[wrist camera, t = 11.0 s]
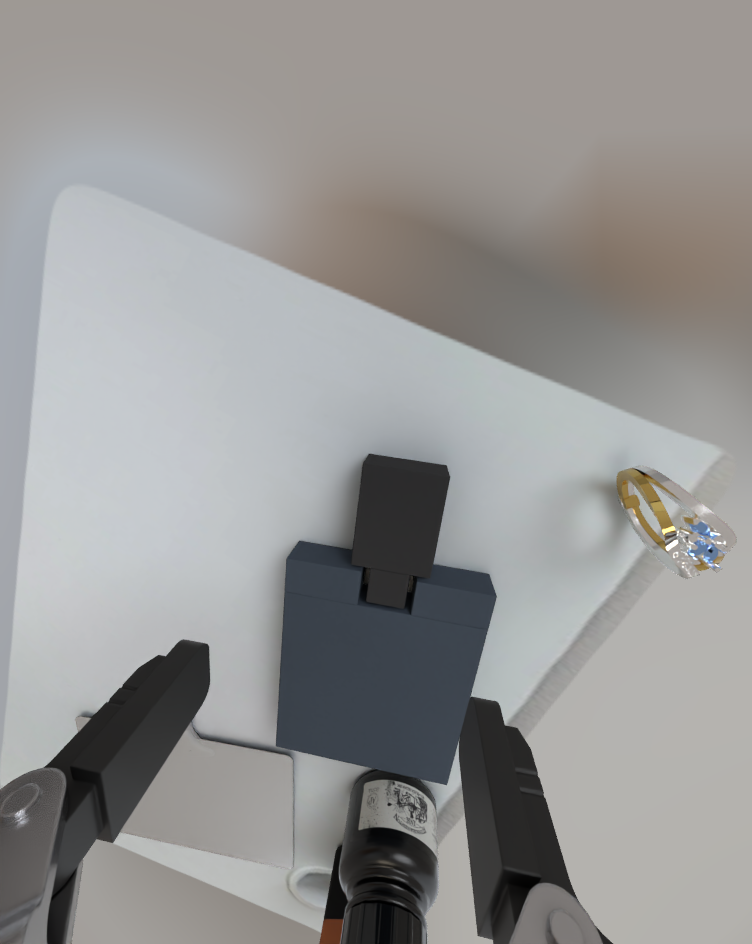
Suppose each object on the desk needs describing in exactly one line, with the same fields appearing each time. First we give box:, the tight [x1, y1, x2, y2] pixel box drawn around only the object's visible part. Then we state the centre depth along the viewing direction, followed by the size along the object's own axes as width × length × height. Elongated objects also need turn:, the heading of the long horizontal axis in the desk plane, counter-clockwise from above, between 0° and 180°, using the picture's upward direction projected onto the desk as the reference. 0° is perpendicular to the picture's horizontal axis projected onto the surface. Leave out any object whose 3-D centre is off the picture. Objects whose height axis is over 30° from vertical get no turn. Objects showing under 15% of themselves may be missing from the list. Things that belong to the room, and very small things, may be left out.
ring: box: [617, 466, 737, 579], centre depth 21 cm, size 7×3×8 cm, turn 25°
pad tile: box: [351, 454, 450, 609], centre depth 27 cm, size 11×6×3 cm, turn 173°
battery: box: [320, 847, 348, 944], centre depth 35 cm, size 4×7×10 cm, turn 16°
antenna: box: [75, 716, 293, 869], centre depth 39 cm, size 25×24×1 cm
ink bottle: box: [339, 770, 439, 944], centre depth 31 cm, size 10×9×12 cm
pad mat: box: [276, 541, 497, 785], centre depth 30 cm, size 20×16×3 cm
